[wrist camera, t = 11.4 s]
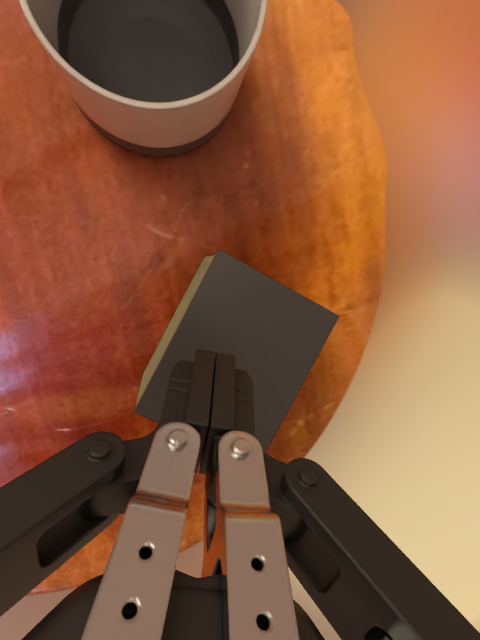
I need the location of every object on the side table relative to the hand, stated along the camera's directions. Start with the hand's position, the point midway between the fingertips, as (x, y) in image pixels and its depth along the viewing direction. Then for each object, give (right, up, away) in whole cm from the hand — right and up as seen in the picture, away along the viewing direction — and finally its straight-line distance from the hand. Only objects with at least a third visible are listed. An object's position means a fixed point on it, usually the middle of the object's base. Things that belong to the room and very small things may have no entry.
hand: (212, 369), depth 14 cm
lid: (+1, -1, +12) cm, 12 cm away
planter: (-6, +21, +15) cm, 27 cm away
